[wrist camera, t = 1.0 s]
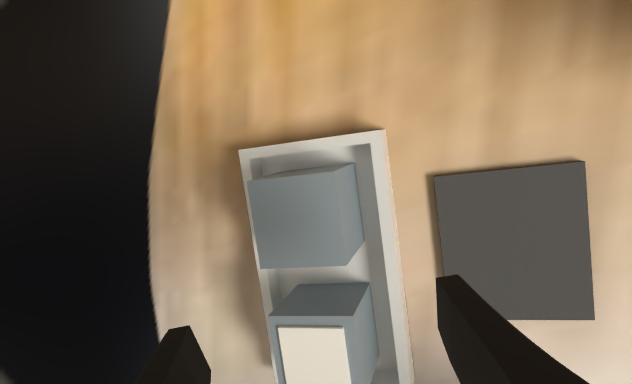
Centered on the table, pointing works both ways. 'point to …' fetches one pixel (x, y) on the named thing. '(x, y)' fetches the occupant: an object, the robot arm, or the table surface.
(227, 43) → the table surface
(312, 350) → the labelled block
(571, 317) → the dark grey square plate
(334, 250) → the plain block
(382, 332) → the parts tray
